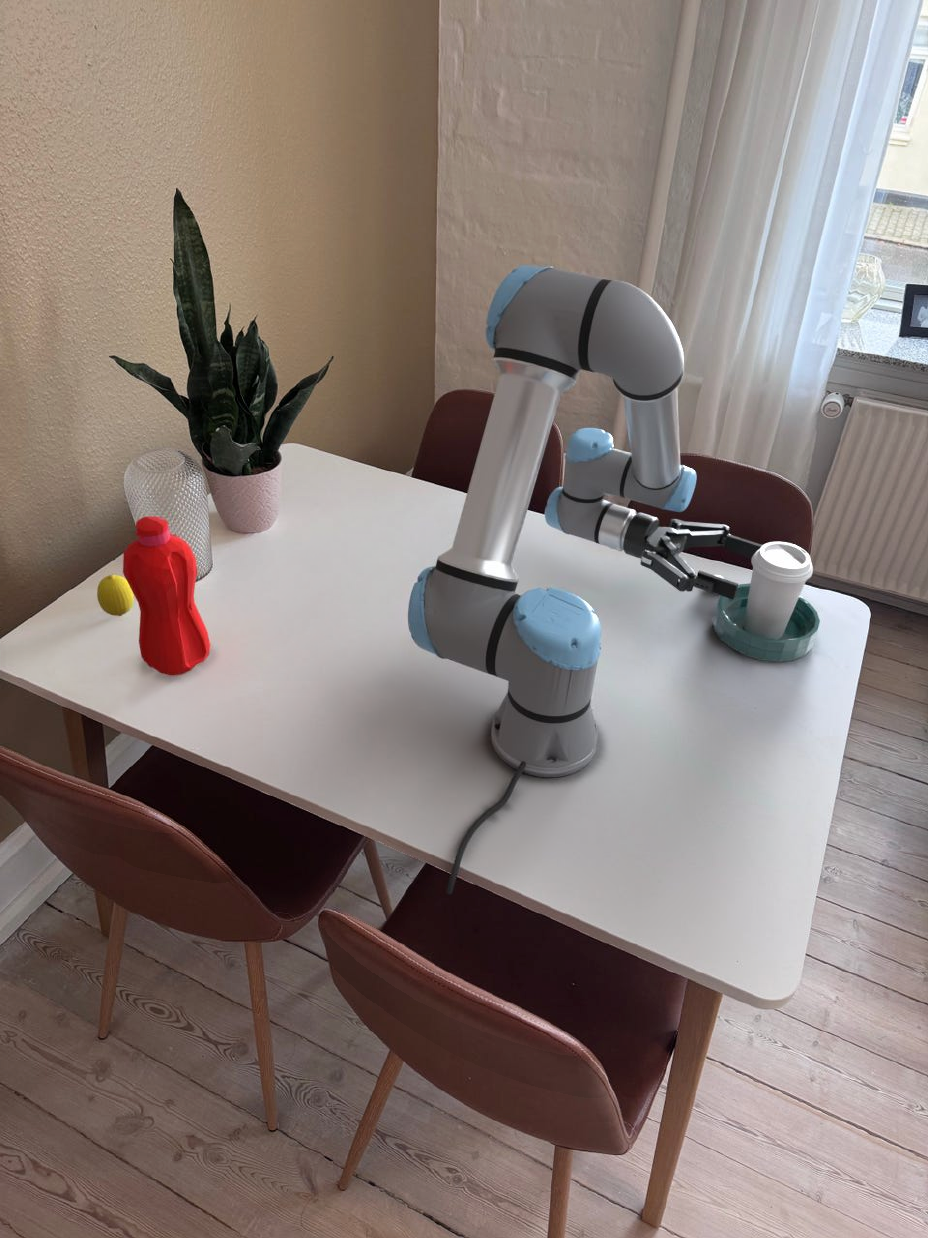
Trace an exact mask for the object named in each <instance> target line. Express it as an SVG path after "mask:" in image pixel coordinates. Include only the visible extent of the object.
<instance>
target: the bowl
mask: <svg viewBox="0 0 928 1238" xmlns="http://www.w3.org/2000/svg"><path fill="white" fill-rule="evenodd" d="M750 584H751V582H750V583H740V584H738V587H737V591H736V595H735V598H734V599H733V600H732V599H729V598H727V597H724V596H721V595H719V599H718V600H717V603H716V607H715V611H714V614H713V619H712V624H713V628H714V631H715V634H717V636H718V637H719V639H720V640H721V641H722V642H724V643H725V644H726V645H727V646H729V647H730V648H731V649H732V650H735V651H737V652H738V653H741V654H743V655H745V656H747V657H750V658H754V659H758V660H761V661H769V662H787V661H794V660H796V659H799V658H802V657H804V656H806V655H807V654H808V653H809V652H810V650H812V648H813V646H814V643H815V640H816V638H817V634H818V631H819V628H820V622H821V620H820V617H819V615H818V611H817V610H816V609H815V608H814V607H813V605H812V604H811V603H810V602H809V601H808V600H806V599H805V598H803V597H802V596H801V595H800V596H799V598H798V601H797V603H796V605H795V607H794V610H793V612H792V614H791V617H790V619H789V621H788V624H787V626H786V628H785V631H784V633H783V635H782V637H781V638H780V639H778V640H775V639H767V638H763V637H760V636H756V635H753V634H751V633H748V632H746V631H745V629H744V620H745V614H746V608H747V602H748V596H749V590H750Z"/></svg>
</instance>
